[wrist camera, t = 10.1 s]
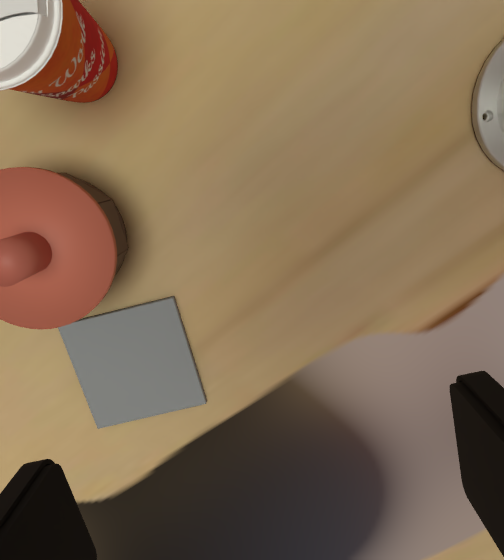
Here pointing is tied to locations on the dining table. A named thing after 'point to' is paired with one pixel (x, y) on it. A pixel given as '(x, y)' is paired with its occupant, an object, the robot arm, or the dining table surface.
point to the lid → (51, 249)
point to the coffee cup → (54, 50)
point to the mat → (134, 362)
